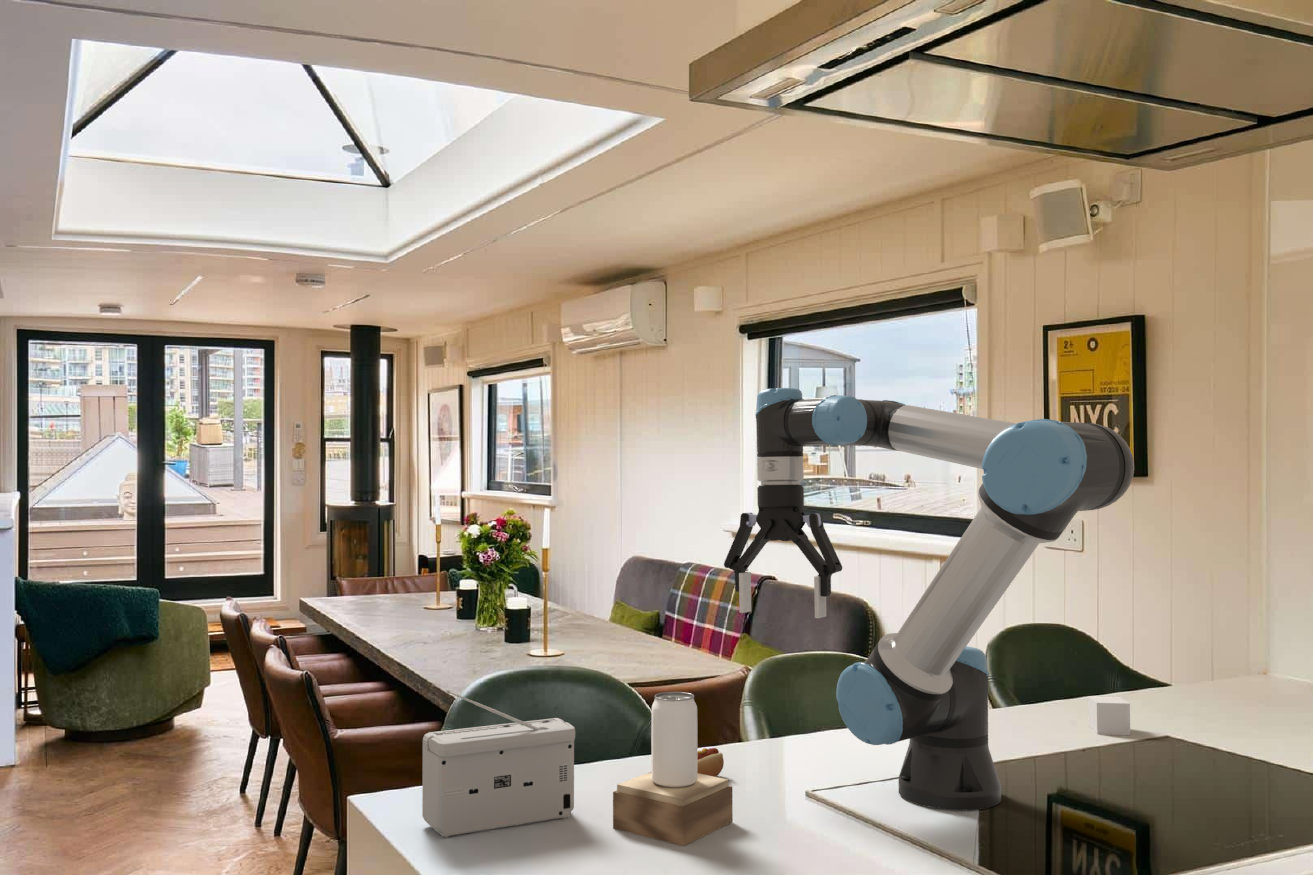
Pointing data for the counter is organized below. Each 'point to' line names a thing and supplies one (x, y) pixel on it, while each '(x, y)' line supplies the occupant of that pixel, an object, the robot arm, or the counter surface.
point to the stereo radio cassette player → (497, 774)
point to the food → (709, 762)
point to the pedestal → (672, 808)
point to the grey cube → (1109, 715)
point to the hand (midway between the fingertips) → (782, 614)
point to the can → (674, 740)
